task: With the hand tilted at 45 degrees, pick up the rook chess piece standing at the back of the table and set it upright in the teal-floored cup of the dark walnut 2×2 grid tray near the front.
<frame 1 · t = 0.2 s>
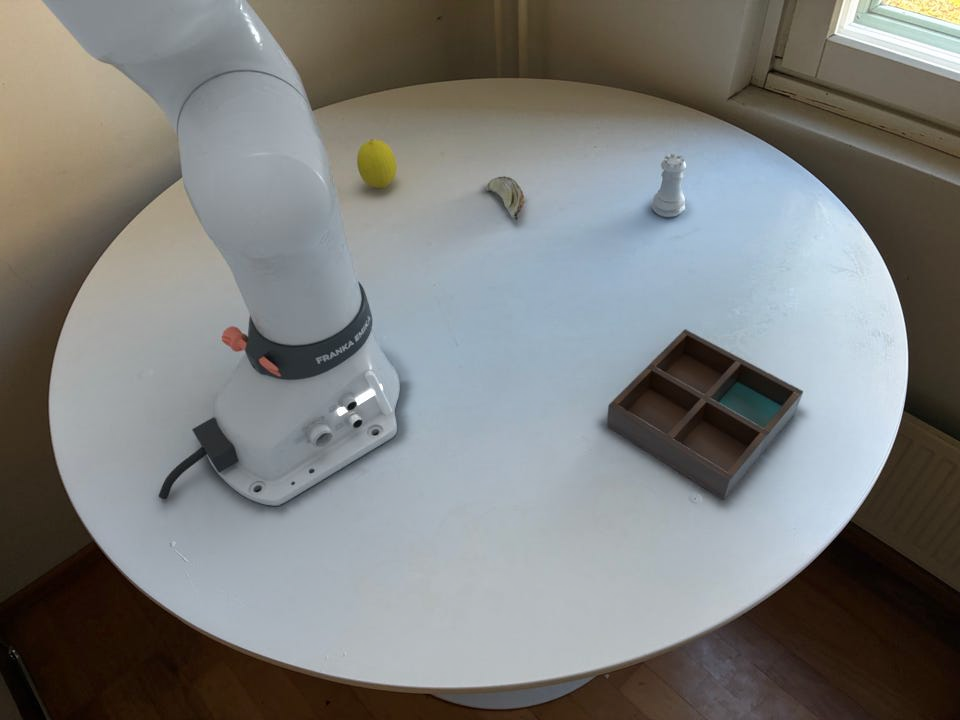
lemon: (381, 188, 114), on the table
rook chess piece: (667, 210, 105), on the table
oyster shell: (507, 207, 109), on the table
grid: (700, 419, 81), on the table
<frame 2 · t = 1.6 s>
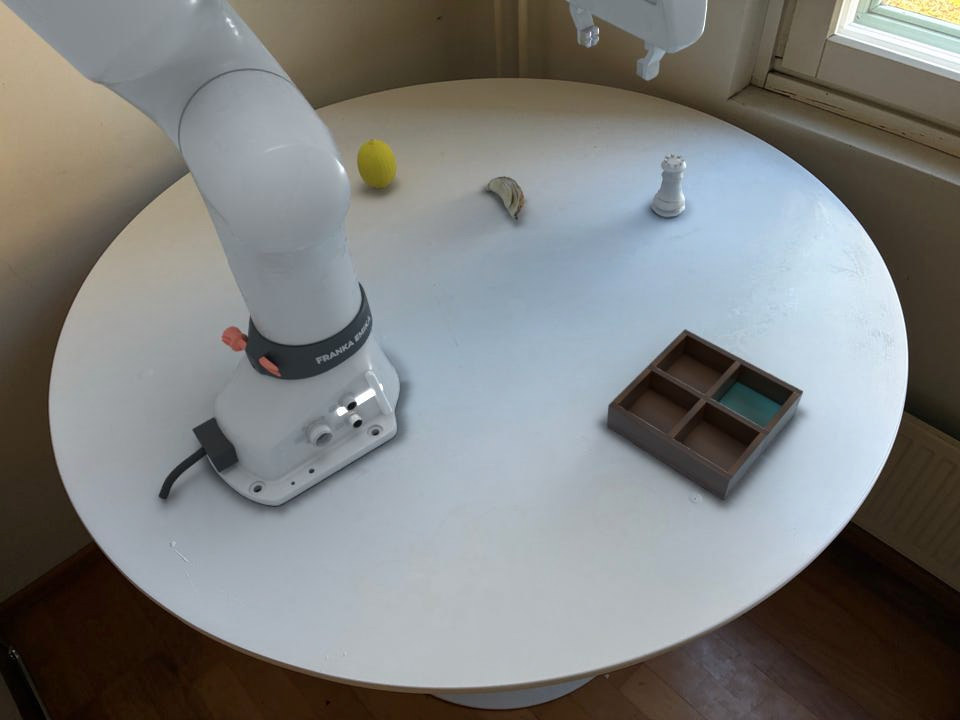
hand: (616, 59, 81), 26 cm above the table, tool pointing down, fingers open, 8 cm apart
nothing on the table moved.
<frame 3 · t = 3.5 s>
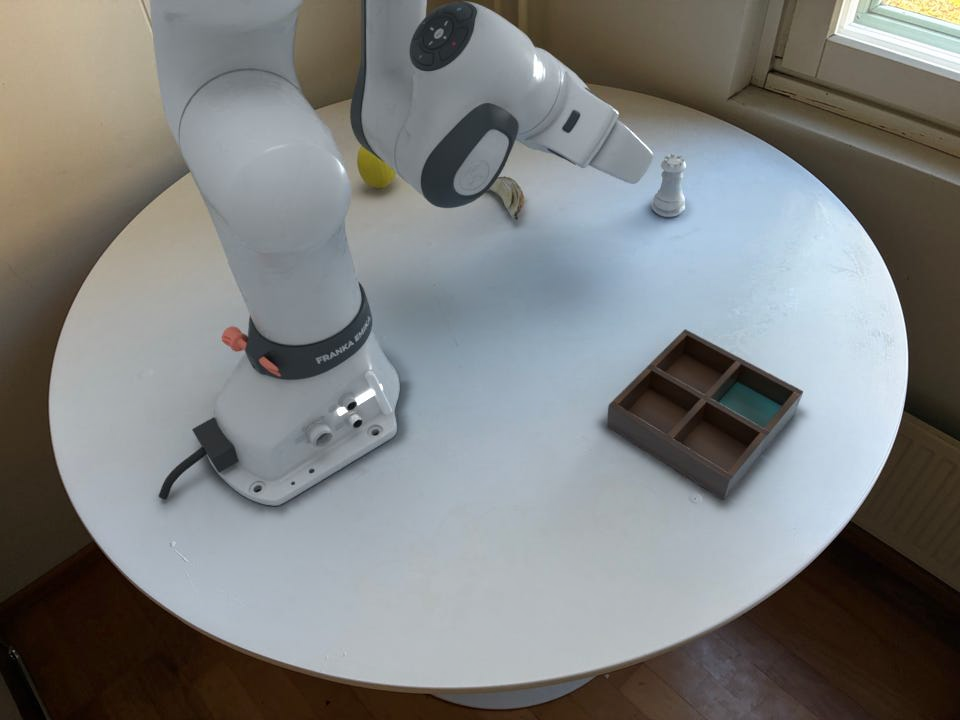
hand: (607, 149, 90), 15 cm above the table, tool tilted 45°, fingers open, 8 cm apart
nothing on the table moved.
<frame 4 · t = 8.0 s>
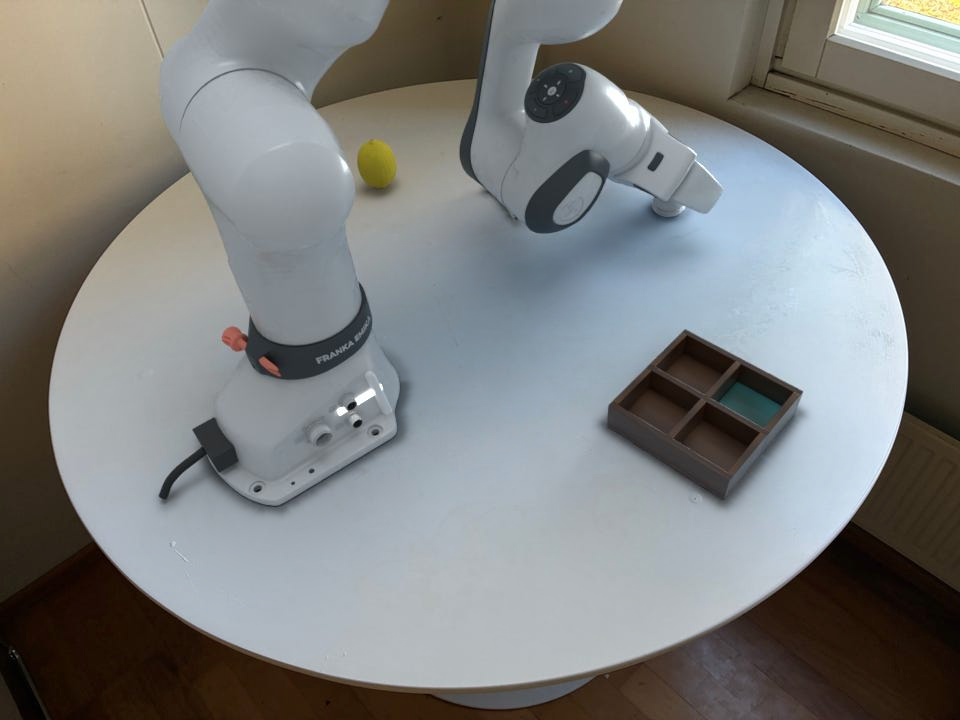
hand: (675, 180, 102), 4 cm above the table, tool tilted 45°, fingers closed on rook chess piece, 3 cm apart
rook chess piece: (667, 210, 105), on the table, touching gripper
everything else where it was.
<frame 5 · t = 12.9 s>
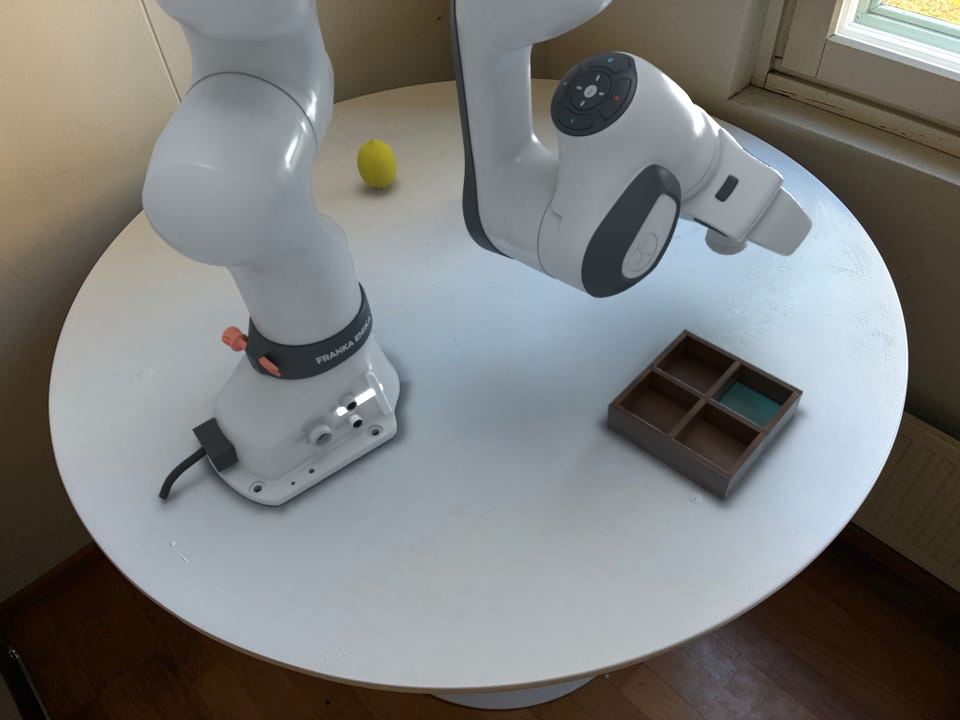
hand: (737, 208, 79), 16 cm above the table, tool tilted 45°, fingers closed on rook chess piece, 3 cm apart
rook chess piece: (725, 245, 82), point 12 cm above the table, touching gripper
everything else where it was.
when the fingers open (5 cm above the table, at t = 18.0 s): rook chess piece stays where it is, resting on grid.
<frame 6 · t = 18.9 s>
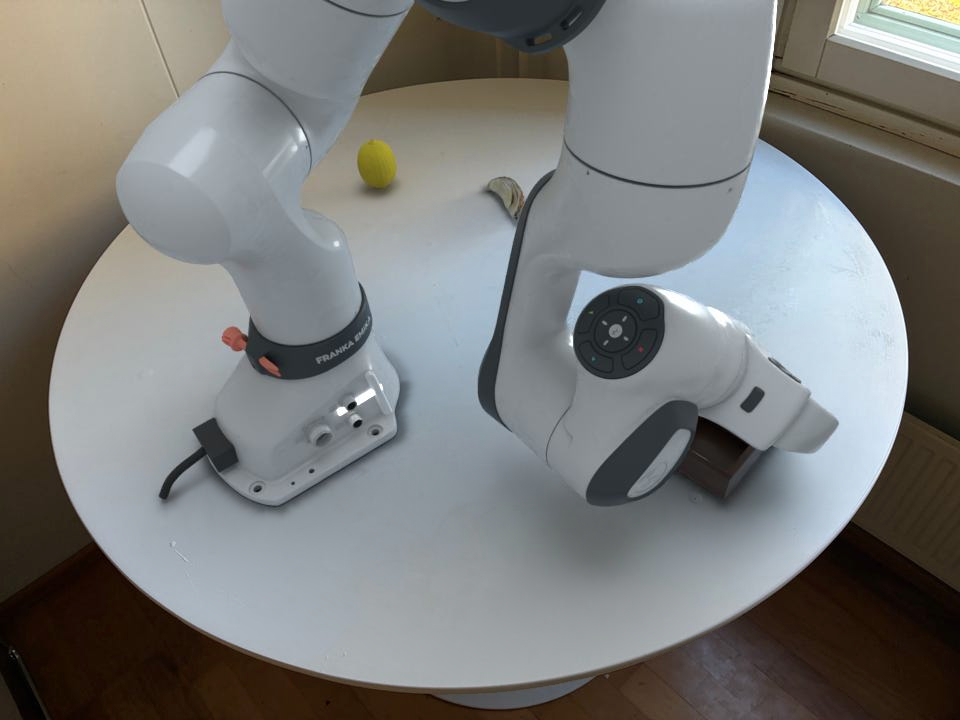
hand: (759, 378, 77), 6 cm above the table, tool tilted 45°, fingers open, 8 cm apart
rook chess piece: (747, 412, 81), point 1 cm above the table, touching grid
everything else where it was.
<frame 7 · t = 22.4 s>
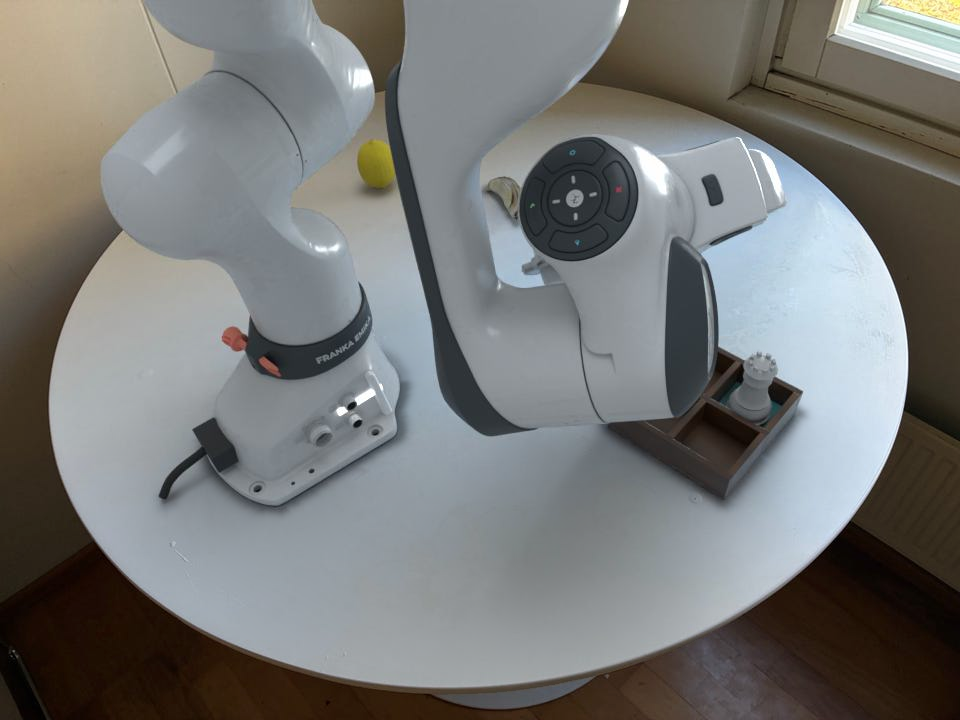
hand: (670, 235, 69), 21 cm above the table, tool tilted 50°, fingers open, 8 cm apart
nothing on the table moved.
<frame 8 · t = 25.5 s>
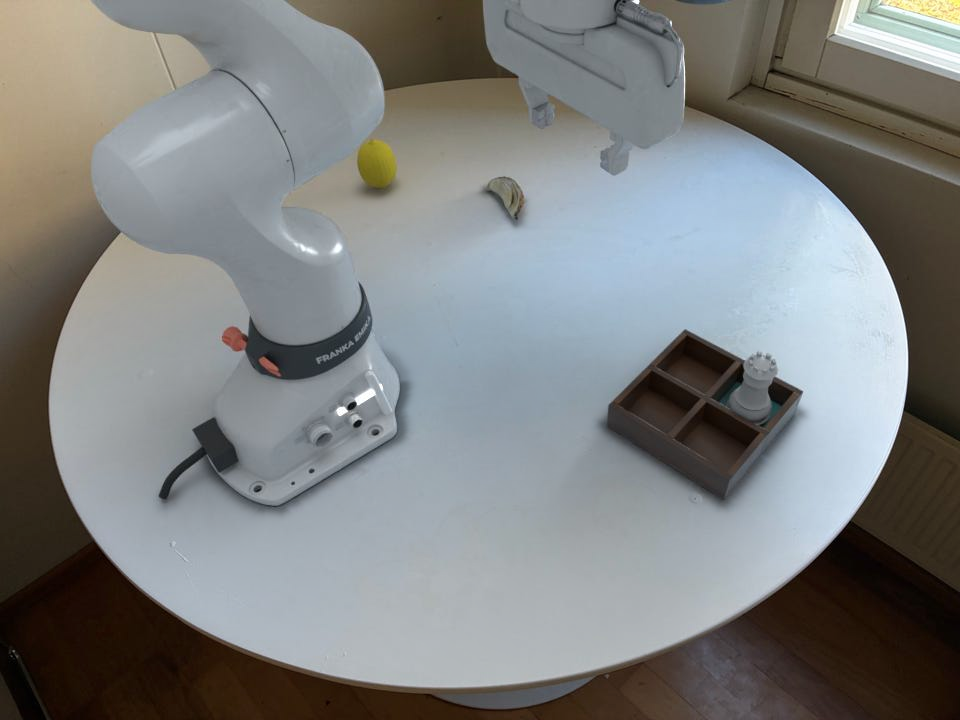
hand: (576, 145, 66), 29 cm above the table, tool pointing down, fingers open, 8 cm apart
nothing on the table moved.
at the end: rook chess piece 0.1 cm from the target spot in the grid, point 0.6 cm above the grid's base; rook chess piece tilted 0°; the gripper is holding nothing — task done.
